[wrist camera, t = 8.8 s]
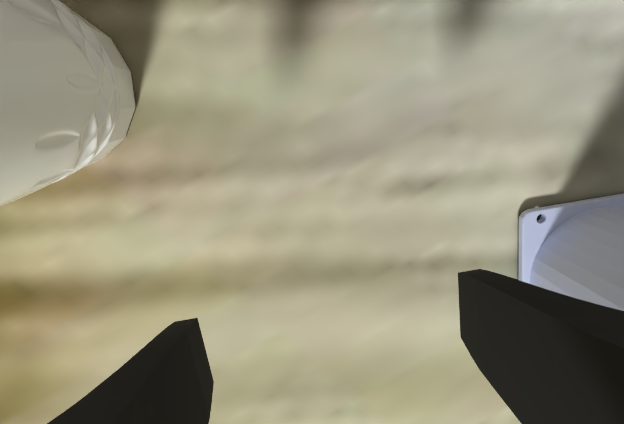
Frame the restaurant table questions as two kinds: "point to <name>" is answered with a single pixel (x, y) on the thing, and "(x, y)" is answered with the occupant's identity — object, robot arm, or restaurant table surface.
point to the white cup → (56, 95)
